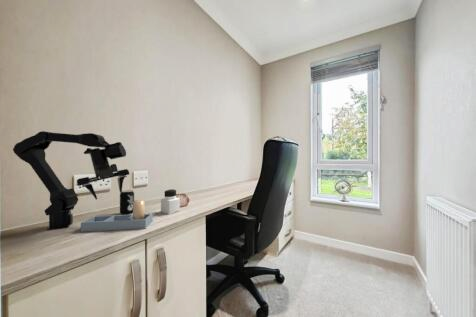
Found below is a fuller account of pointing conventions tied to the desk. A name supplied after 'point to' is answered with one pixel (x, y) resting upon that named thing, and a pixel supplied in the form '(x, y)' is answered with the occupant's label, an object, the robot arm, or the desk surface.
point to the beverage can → (126, 202)
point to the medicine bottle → (170, 202)
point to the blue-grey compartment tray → (115, 223)
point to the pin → (138, 210)
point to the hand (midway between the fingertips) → (109, 195)
